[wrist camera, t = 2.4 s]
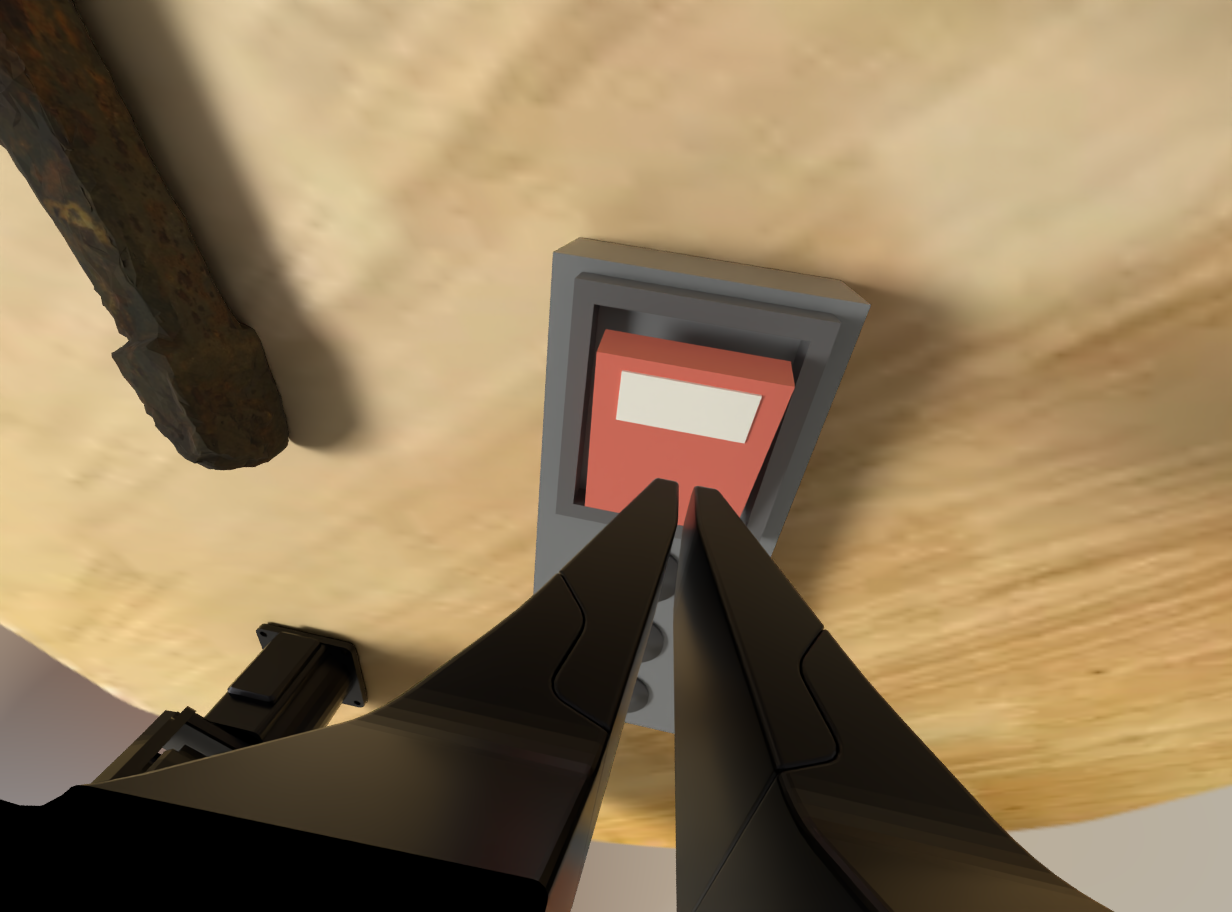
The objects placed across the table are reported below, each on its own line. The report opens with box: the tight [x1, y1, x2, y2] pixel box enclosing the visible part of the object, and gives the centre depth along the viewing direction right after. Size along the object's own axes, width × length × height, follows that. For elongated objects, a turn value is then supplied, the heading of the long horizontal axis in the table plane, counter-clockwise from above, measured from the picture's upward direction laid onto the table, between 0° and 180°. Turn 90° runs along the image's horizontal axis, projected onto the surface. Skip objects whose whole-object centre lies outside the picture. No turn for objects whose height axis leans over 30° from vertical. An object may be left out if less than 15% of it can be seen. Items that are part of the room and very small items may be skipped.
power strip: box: [533, 237, 871, 733], centre depth 20 cm, size 22×9×4 cm, turn 172°
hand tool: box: [0, 0, 289, 470], centre depth 17 cm, size 19×4×5 cm, turn 6°
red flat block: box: [585, 329, 795, 526], centre depth 15 cm, size 6×5×1 cm
